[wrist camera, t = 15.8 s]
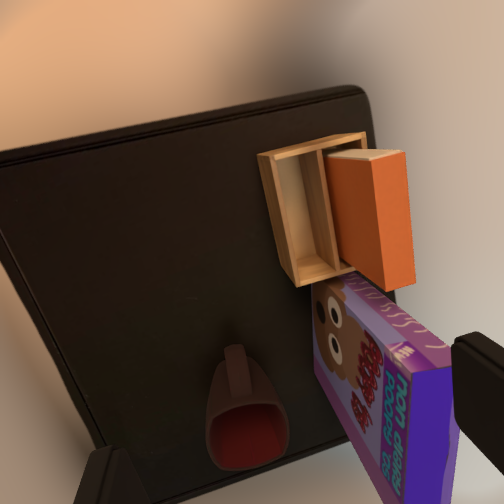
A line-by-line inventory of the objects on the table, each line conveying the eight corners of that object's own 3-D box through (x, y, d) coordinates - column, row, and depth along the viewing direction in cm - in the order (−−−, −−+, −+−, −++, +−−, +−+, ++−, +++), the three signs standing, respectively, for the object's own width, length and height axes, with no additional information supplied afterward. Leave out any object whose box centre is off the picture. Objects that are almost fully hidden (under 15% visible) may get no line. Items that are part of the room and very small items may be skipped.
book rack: (280, 265, 47) (296, 287, 40) (256, 154, 43) (268, 156, 35) (352, 245, 48) (381, 263, 41) (336, 134, 43) (365, 131, 36)
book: (331, 148, 43) (405, 149, 28) (344, 239, 47) (416, 283, 32) (308, 154, 43) (370, 158, 28) (324, 245, 47) (386, 292, 32)
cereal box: (310, 267, 48) (412, 374, 26) (342, 262, 49) (470, 363, 26) (313, 371, 53) (401, 537, 31) (342, 366, 54) (449, 525, 31)
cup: (209, 407, 52) (213, 478, 41) (193, 327, 48) (193, 382, 37) (272, 393, 53) (293, 459, 42) (262, 314, 49) (283, 364, 38)
